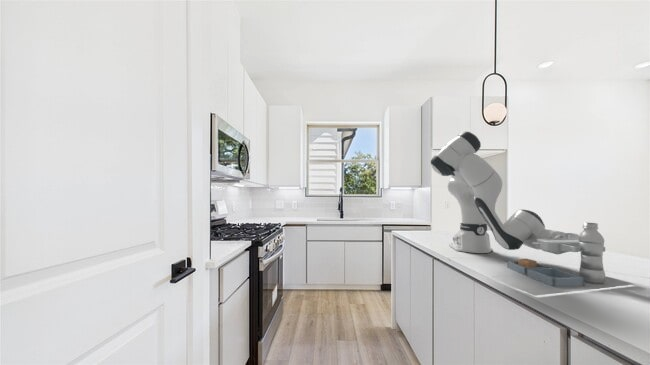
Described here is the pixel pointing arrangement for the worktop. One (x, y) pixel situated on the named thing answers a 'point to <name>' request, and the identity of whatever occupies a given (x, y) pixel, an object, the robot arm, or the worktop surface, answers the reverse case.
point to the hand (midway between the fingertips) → (590, 249)
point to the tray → (555, 277)
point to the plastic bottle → (591, 254)
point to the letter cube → (527, 263)
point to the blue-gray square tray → (521, 269)
